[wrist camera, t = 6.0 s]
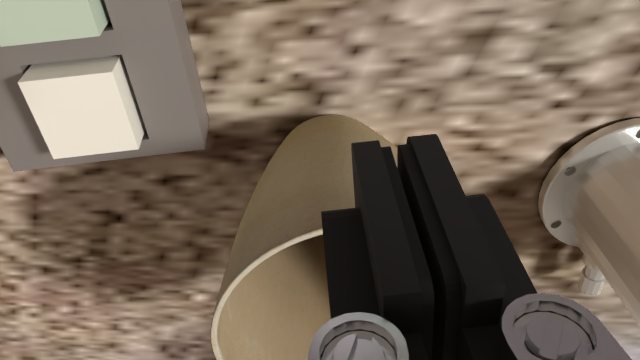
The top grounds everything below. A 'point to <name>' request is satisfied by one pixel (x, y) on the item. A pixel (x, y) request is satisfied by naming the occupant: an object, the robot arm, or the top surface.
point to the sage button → (50, 20)
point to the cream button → (84, 106)
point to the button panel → (145, 75)
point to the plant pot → (287, 245)
